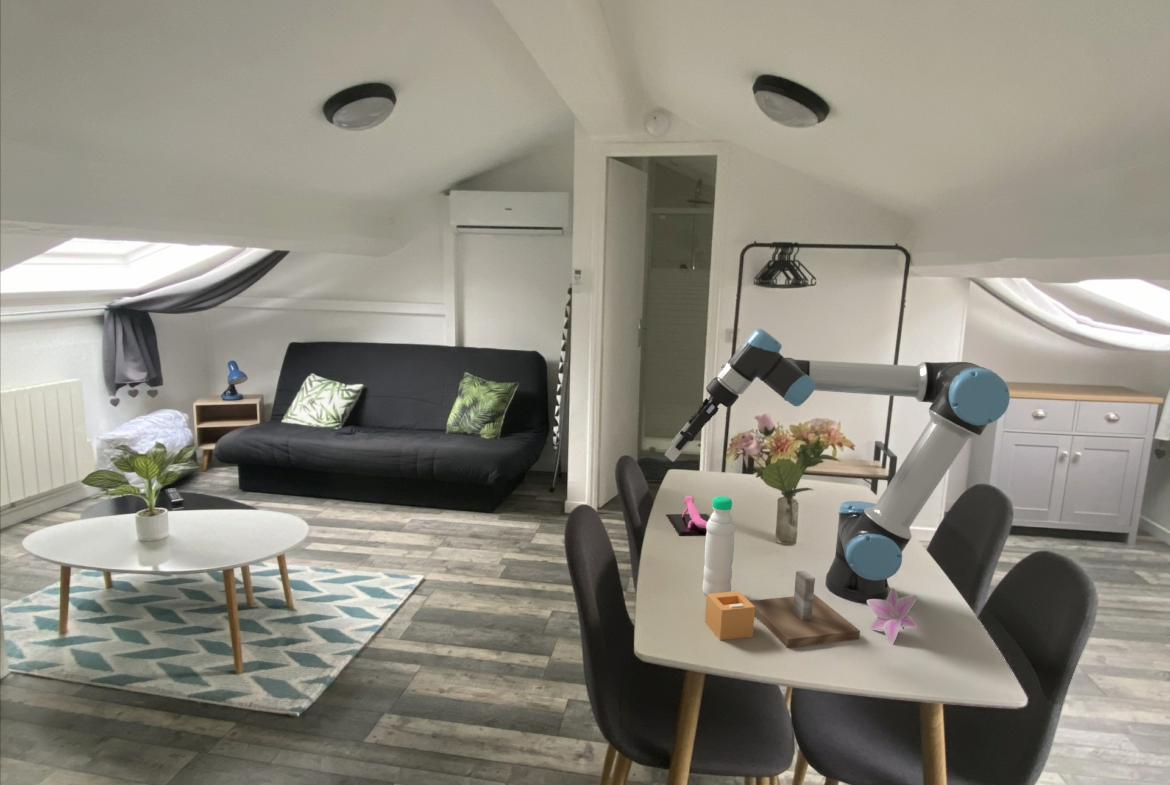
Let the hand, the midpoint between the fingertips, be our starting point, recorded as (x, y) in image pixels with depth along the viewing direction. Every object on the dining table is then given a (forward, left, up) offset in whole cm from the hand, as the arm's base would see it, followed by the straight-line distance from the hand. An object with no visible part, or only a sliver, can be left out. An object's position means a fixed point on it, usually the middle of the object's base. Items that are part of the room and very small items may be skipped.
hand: (672, 451), depth 171 cm
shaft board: (-24, +24, -36) cm, 50 cm away
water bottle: (-11, +6, -36) cm, 38 cm away
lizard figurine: (-25, -41, -37) cm, 60 cm away
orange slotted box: (-6, +23, -36) cm, 43 cm away
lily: (-42, +32, -36) cm, 64 cm away
